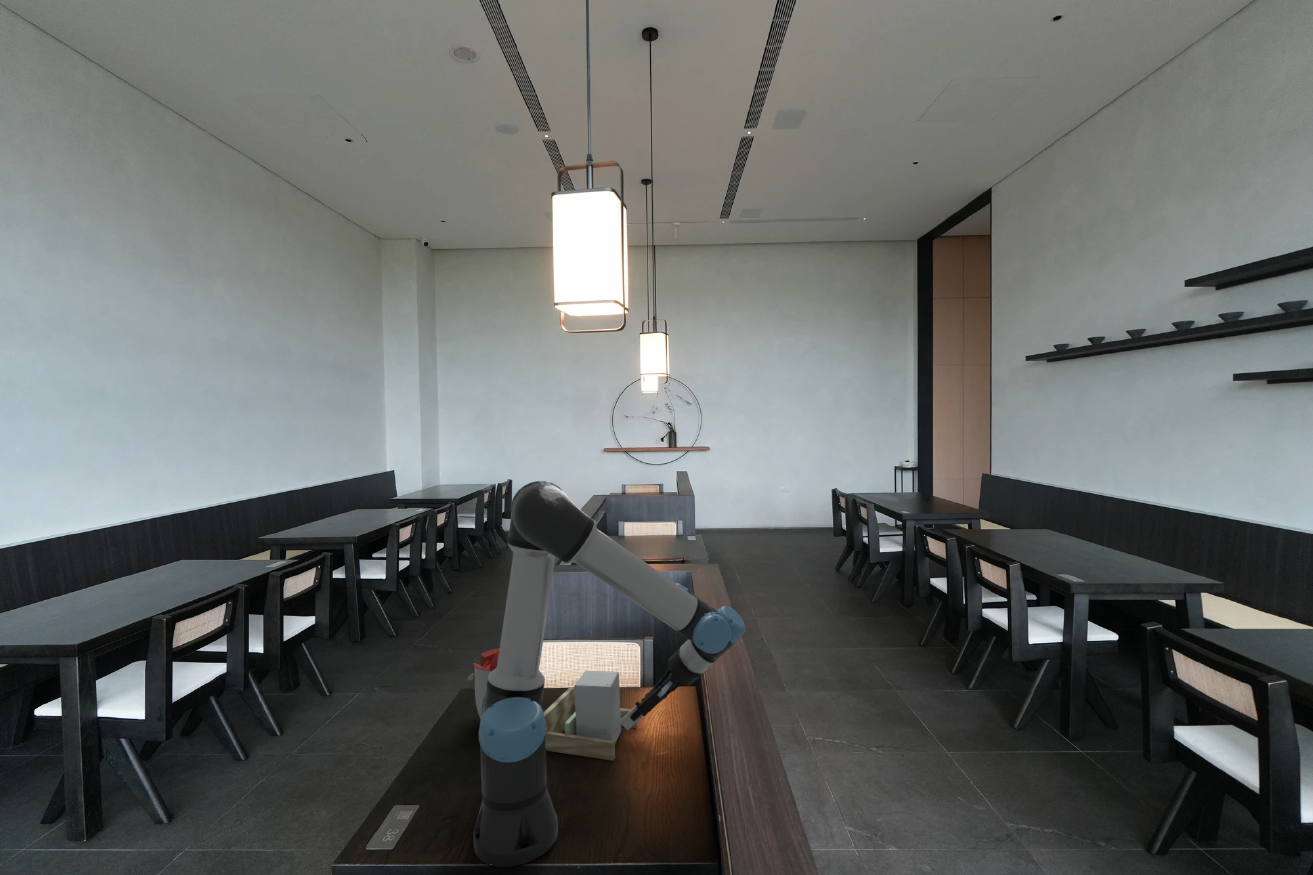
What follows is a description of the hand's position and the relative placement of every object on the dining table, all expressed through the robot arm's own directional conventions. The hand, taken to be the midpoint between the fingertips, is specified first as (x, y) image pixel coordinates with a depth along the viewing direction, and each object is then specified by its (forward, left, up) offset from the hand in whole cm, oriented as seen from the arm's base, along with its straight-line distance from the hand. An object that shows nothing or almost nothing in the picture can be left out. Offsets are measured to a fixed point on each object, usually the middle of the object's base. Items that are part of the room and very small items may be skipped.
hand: (624, 724), depth 140 cm
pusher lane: (0, +9, -4) cm, 10 cm away
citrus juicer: (+1, +34, -4) cm, 34 cm away
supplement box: (0, +7, -4) cm, 8 cm away
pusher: (0, +12, -4) cm, 12 cm away
